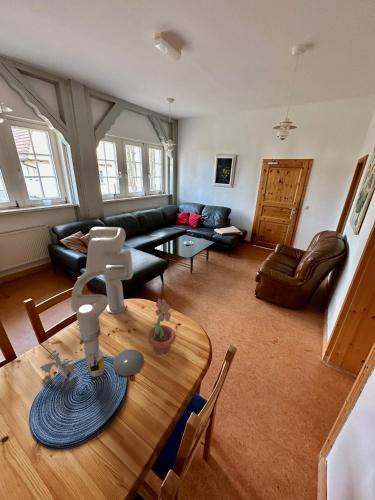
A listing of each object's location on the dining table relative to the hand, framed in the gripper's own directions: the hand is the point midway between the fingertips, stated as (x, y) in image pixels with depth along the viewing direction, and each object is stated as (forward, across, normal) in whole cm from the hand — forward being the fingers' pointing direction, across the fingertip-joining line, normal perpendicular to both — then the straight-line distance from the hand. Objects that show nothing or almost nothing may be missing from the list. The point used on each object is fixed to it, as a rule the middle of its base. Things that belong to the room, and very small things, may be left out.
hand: (95, 362), depth 92 cm
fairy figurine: (+6, -2, -14) cm, 15 cm away
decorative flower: (+6, -3, +31) cm, 32 cm away
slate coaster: (+5, 0, +14) cm, 15 cm away
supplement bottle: (+6, 0, 0) cm, 6 cm away
